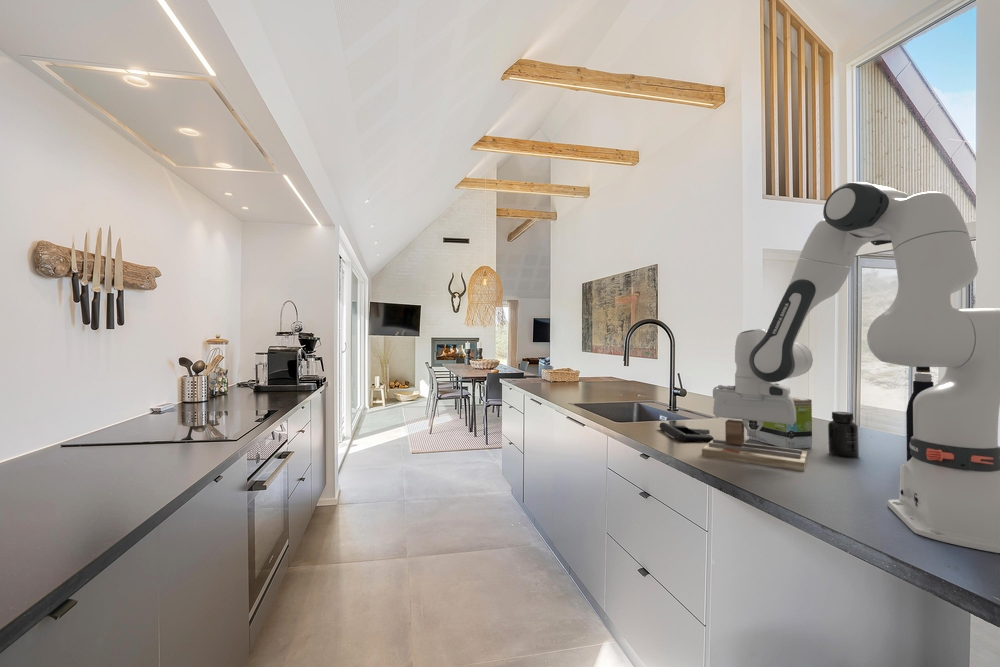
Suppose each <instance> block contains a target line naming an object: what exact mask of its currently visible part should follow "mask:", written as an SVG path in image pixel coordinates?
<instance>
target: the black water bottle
mask: <svg viewBox="0 0 1000 667" xmlns="http://www.w3.org/2000/svg"><path fill="white" fill-rule="evenodd" d="M915 368H916V369H915V372H916V373H914V375H913V377H914V380H913V381H912V393H911V395H910V397H909V400H908V402H907V406H906V412H905V417H906V419H905V422H906V426H905V427H906V430H905V431H906V462H908V461H909V460H910V459H911V458H912V455H911V454H910V440H911V437H912V436H913V401H914V399H915V397H916V396H917V395H918V394H919V393H920V392H921V391H923V390H925V389H928V388H930V387H933V386H935V385H934V382H933V381H932V380H933V378H932V377H933V375H932V374H931V373H930V372H931V367H915Z"/></svg>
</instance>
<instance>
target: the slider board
mask: <svg viewBox="0 0 1000 667" xmlns="http://www.w3.org/2000/svg"><path fill="white" fill-rule="evenodd" d="M701 456H702V457H706V458H714V459H720V460H727V461H728V460H729V461H734V462H735V461H736V462H741V463H742V462H743V463H746V464H747V463H749V464H756V465H761V466H762V465H763V466H767V467H776V468H783V469H788V470H789V469H790V470H796V471H801V472H802V471H803V472H805V469H806V465H807V461H808V450H802V449H799V448H797V449H790V448H782V447H778V446H775V445H772V446H771V445H765V444H756V443H749V442H748V443H747V442H744V447H742V446H734V445H727V444H726V439H725V440H724V439H716V438H714V439H713V440H712V441H710V442H707V444H706V445H705V446H704V447H702V448H701Z"/></svg>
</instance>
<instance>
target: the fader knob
mask: <svg viewBox="0 0 1000 667" xmlns="http://www.w3.org/2000/svg"><path fill="white" fill-rule="evenodd" d="M724 429H725V431H724V432H725V441H726V444H727V445H734V446H742V447H744V443H745V427H744V425H743V423H742V419H732V418H727V420H725V428H724Z"/></svg>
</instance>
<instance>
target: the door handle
mask: <svg viewBox="0 0 1000 667" xmlns="http://www.w3.org/2000/svg"><path fill="white" fill-rule="evenodd" d="M657 427H659V429H660V430H661V431H662V432H664V434H666V435H667V436H669V437H670V438H672V439H673V440H674V439H675V440H677V441H678V442H680V443H687V442H689V443H709V442H710V441H712V440H713V439H715V438H714V437H713V436H712V435H710V433H711V432H710V431H711V430H710V429H707V428H706V429H705V428H704V429H703V428H689V427H687V426H685V425H674V424H673V425H671V424H669V423H667V422H664V421H663V422H660V423H659V426H657Z"/></svg>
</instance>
